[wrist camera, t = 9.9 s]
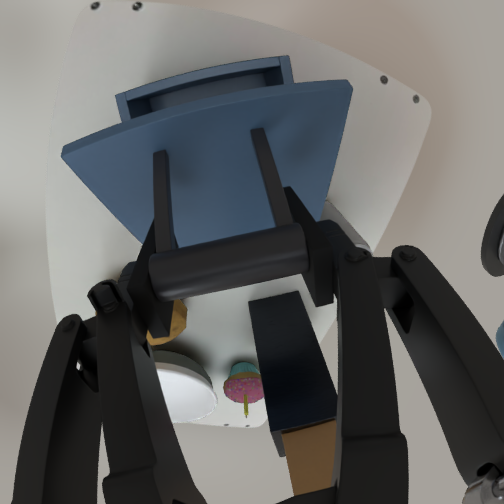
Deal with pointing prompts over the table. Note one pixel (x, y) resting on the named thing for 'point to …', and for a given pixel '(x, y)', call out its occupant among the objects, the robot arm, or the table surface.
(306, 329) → the stand
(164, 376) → the bowl
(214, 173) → the lid
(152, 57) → the table surface
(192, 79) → the chest
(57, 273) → the table surface
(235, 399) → the cupcake
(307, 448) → the package
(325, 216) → the beverage can
